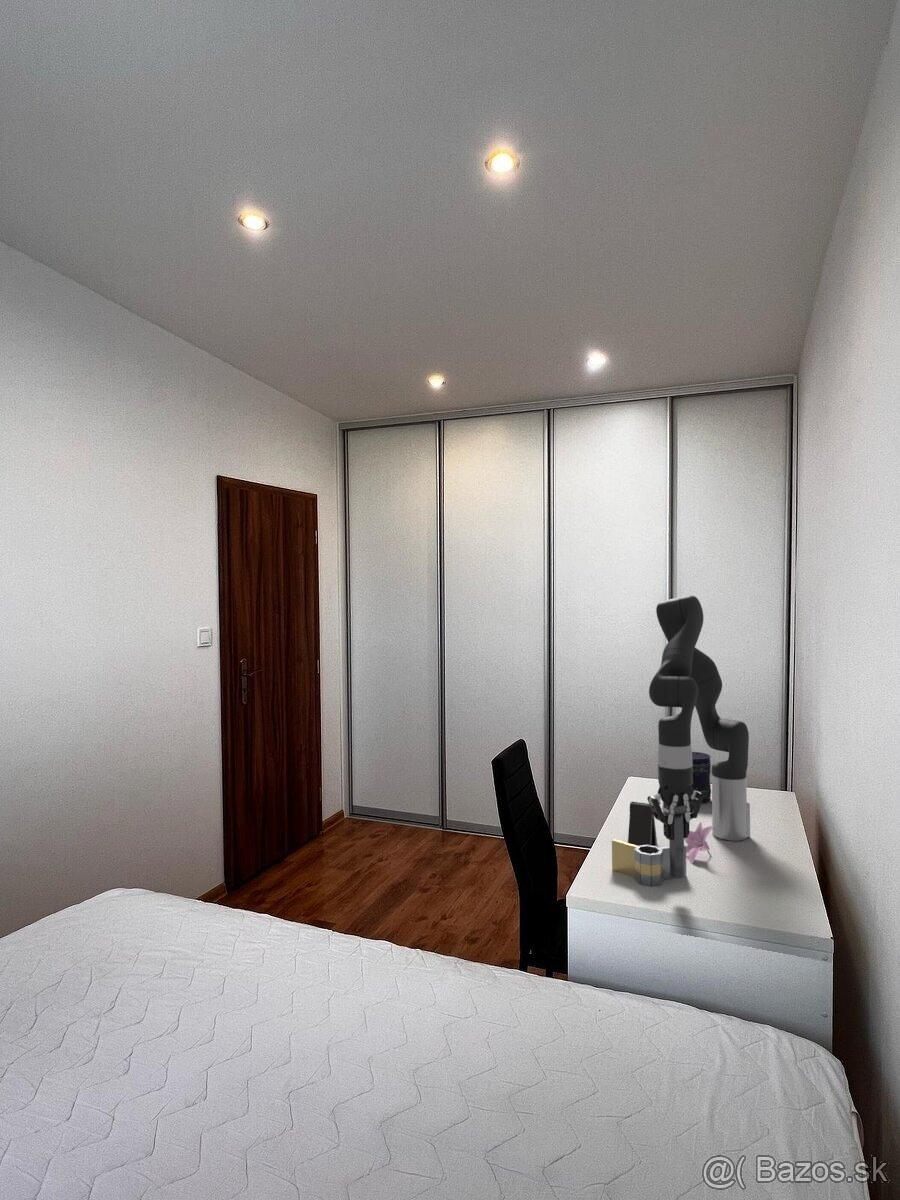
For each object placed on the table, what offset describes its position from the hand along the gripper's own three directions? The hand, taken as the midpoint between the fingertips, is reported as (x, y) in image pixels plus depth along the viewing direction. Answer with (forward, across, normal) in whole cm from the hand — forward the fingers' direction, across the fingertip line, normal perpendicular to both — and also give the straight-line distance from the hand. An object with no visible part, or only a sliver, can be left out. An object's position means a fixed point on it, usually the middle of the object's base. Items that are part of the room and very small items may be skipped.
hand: (676, 837), depth 155 cm
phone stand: (+14, -9, -30) cm, 34 cm away
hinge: (+14, -1, -13) cm, 19 cm away
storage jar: (+15, -48, -62) cm, 80 cm away
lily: (+14, -18, -19) cm, 30 cm away
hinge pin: (+9, 0, 0) cm, 9 cm away
